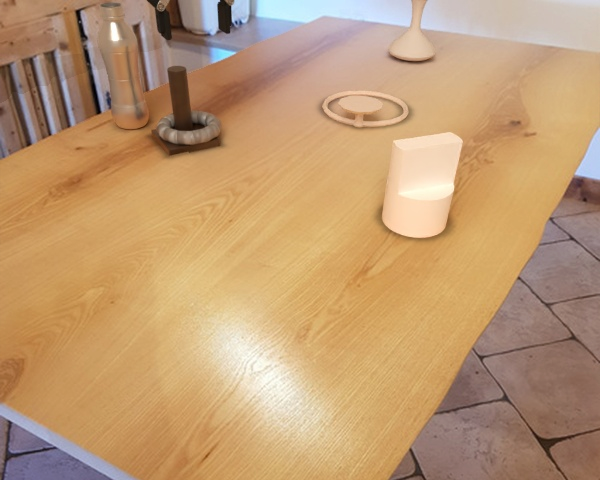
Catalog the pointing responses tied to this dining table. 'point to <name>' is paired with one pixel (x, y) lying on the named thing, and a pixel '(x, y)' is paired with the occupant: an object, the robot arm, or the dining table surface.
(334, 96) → the hand towel holder
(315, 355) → the dining table surface
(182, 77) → the stand
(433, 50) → the flower in vase
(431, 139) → the cylinder with rectangular tab
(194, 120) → the segmented ring
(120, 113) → the plastic bottle
